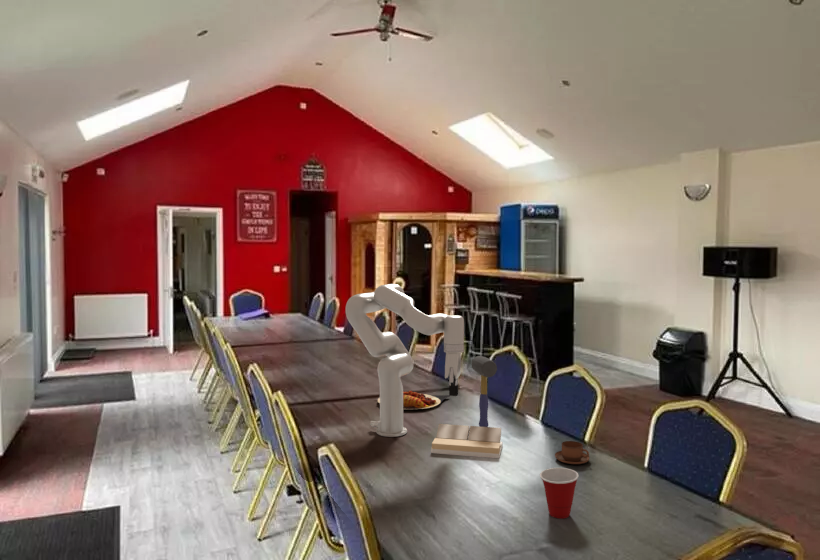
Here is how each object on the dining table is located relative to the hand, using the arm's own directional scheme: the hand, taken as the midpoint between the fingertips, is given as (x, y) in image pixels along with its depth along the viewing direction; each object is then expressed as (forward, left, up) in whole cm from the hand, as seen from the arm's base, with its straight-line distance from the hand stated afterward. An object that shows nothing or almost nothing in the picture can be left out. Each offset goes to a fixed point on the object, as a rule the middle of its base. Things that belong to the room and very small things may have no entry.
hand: (453, 395), depth 239 cm
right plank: (+12, -1, -15) cm, 20 cm away
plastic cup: (+39, -54, -19) cm, 70 cm away
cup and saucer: (+44, -8, -20) cm, 49 cm away
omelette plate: (-30, +57, -20) cm, 67 cm away
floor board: (+6, -5, -19) cm, 21 cm away
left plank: (0, -1, -15) cm, 15 cm away
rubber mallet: (+9, +23, -19) cm, 31 cm away
